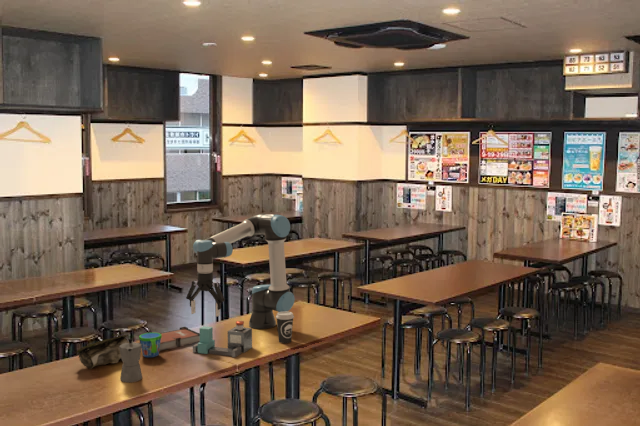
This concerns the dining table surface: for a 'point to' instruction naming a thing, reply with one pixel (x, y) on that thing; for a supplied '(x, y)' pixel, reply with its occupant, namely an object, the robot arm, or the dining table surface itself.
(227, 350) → the rail
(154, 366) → the dining table surface
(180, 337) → the book
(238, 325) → the gauge plunger
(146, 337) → the snack cup
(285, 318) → the coffee cup
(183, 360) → the dining table surface
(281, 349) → the dining table surface
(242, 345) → the end cabinet
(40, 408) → the dining table surface
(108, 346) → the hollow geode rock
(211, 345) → the carriage
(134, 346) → the coffeepot
